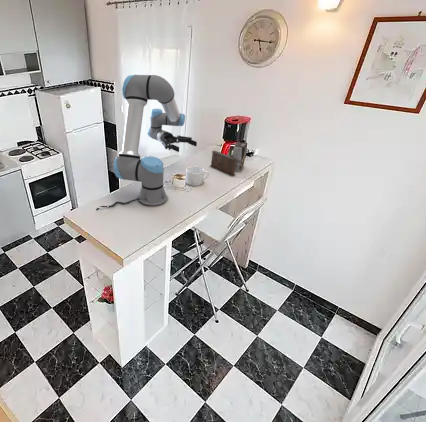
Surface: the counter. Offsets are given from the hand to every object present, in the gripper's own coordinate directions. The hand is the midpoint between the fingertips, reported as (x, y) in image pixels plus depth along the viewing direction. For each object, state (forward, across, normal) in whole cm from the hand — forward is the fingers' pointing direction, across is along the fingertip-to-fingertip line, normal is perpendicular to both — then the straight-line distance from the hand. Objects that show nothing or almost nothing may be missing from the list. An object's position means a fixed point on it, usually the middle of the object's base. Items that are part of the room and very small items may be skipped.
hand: (187, 146), depth 171 cm
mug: (+10, 0, -20) cm, 22 cm away
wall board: (+8, -24, -20) cm, 32 cm away
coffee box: (+11, -33, -20) cm, 40 cm away
